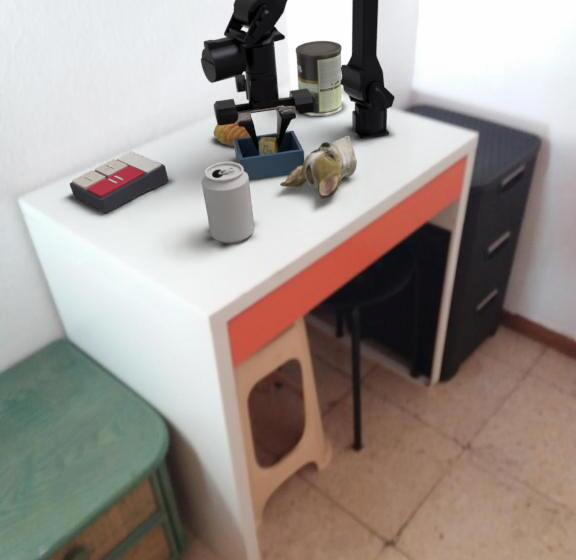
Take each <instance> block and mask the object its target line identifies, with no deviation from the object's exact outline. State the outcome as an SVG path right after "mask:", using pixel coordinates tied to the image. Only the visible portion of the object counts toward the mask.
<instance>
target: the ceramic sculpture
mask: <svg viewBox="0 0 576 560" xmlns="http://www.w3.org/2000/svg"><path fill="white" fill-rule="evenodd" d="M357 162H358V161H357V158H356V153H355V150H354V147H353V143H352V141H351V138H350V136H349V135H345V136H343V137H342V138H339V139H337V140H334V141H333V142H328V141H325V142H322V143H320V144H319V146H318V148H316V149H314V150H312V151H311V152H310V153H309V154H308V155H306V156H305V157H304V164H303V165H302V166H298V167H297V168H296V169H295V170H293V171H292V172H291V174H289V175H288V176H287V178H286V179H285V181H282V182H280V183H279V186H281V187H284V188H300V187H301V186H303V185H305V184H306V183H307V185H308V186H310V187H311V188H313V189H316V191H317V194H318V198H319V200H325V199H328V198H330V197H332V196H334V195H335V194H336V192H337V191H338V189H339V187H340V184H342V179H343V178H344V177H346V178H347V177H351V176H353V175H354V173H355V172H356V169H357Z"/></svg>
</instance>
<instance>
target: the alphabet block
mask: <svg viewBox="0 0 576 560" xmlns="http://www.w3.org/2000/svg"><path fill="white" fill-rule="evenodd" d="M258 144H259V155H266V154H273V153H277V151H278V148H277V138H274V137H261V139H260V141H259V142H258Z"/></svg>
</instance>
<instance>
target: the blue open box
mask: <svg viewBox="0 0 576 560" xmlns="http://www.w3.org/2000/svg"><path fill="white" fill-rule="evenodd" d="M261 137H274V138H277V132H274V133H267V134H259V135H257V139H258V142H259V141H260V139H261ZM233 147H234V154H235V161H236V163H238V164H240V165H241V166H243V169H244V170H243V171H245V172H246V173H247V174H248V177H249V181H254V180H261V179H268V178H274V177H275V178H276V177H281V176H290V174H291V172H292V171H293V170H295V169H296V168H297V167H298V166H302V165H303V164H304V161H305V149H304V148H303V146H302V144H301V143H300V140H299V138H298V136H297V135H296V132H295V131H294V130H286V132H285V135H284V138H283V141H282V144H281V147H280V148H278V146H277V148H278V151H277V153H273V154H266V155H259V151H257V150H256V147H255V145H254V143H253V141H252V139H251V137H245V138H238V139H234V146H233Z"/></svg>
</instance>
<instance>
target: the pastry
mask: <svg viewBox="0 0 576 560" xmlns="http://www.w3.org/2000/svg"><path fill="white" fill-rule="evenodd" d="M213 136H214V138H215V139H216V140H217V141H218V142H220V143H221V144H223V145H226V146H227V145H228V146H230V147H234V139H238V138H245V137H250V135H249V134H248V132H247V131H246V129H245V128H244V127H239V126H238V124H237V121H236V122H235V124H228V125H218V124H217V123H216V125H215V127H214V129H213Z"/></svg>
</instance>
